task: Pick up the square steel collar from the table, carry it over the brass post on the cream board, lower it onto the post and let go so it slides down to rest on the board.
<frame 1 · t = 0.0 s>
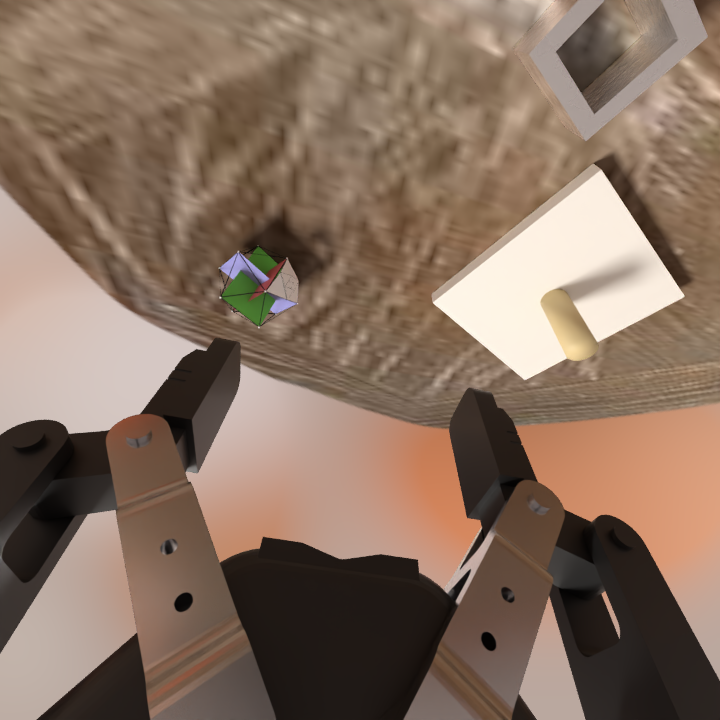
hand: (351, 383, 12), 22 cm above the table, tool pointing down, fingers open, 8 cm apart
post board: (549, 290, 34), on the table
steel collar: (587, 41, 22), on the table
geometric puzzle: (268, 267, 35), on the table
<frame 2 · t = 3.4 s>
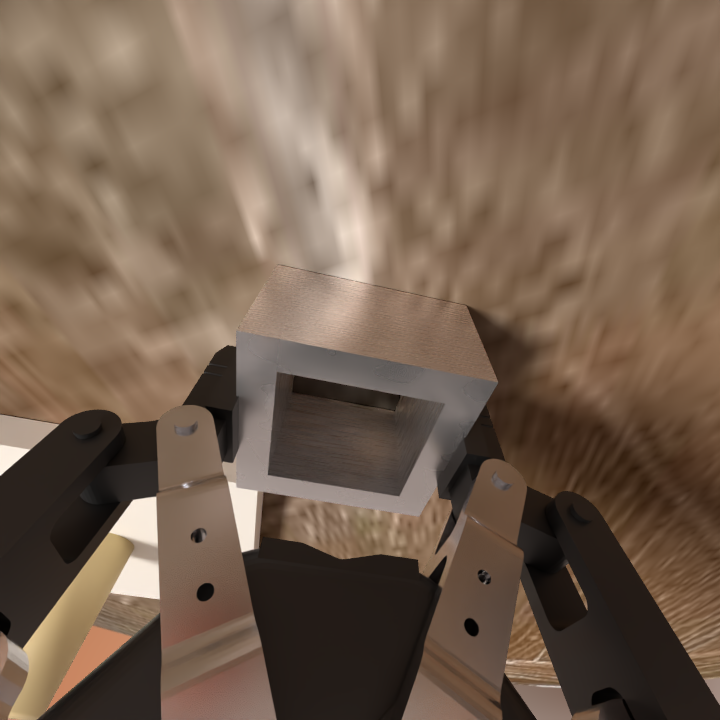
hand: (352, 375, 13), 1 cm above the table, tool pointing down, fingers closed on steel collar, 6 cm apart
post board: (127, 517, 21), on the table
steel collar: (354, 361, 13), on the table, touching gripper
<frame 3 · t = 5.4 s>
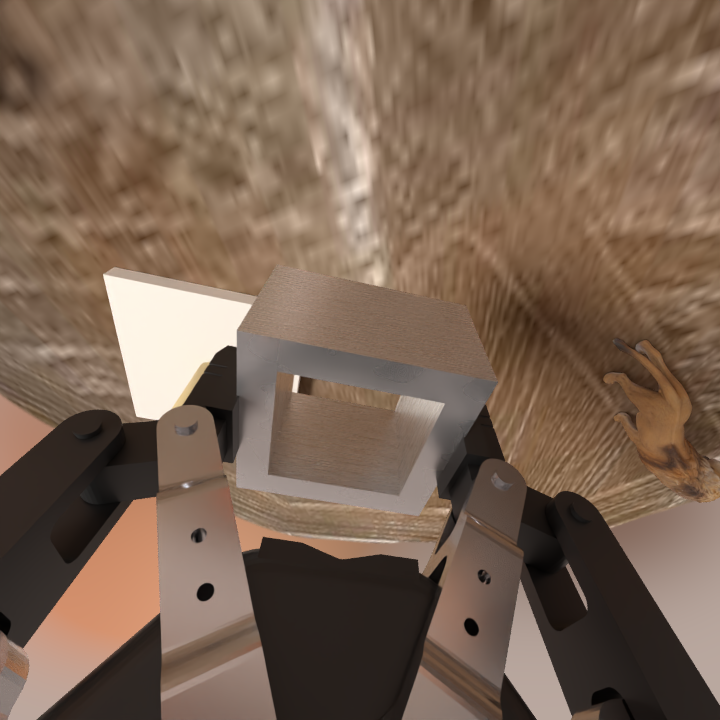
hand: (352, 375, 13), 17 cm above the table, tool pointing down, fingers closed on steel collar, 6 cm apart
lion figurine: (634, 388, 34), on the table
post board: (217, 362, 34), on the table
steel collar: (354, 360, 14), point 16 cm above the table, touching gripper
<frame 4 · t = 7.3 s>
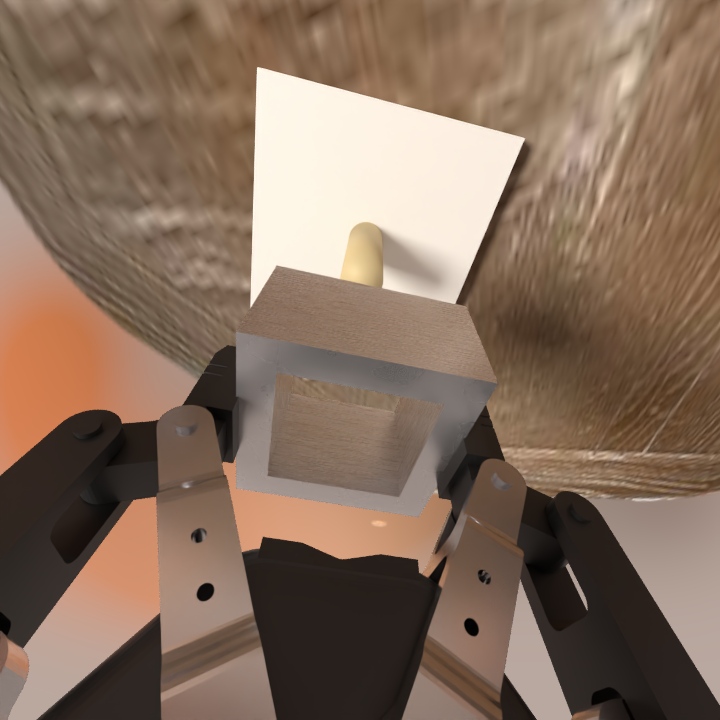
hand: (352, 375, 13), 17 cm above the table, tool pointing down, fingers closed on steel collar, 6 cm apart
post board: (366, 232, 26), on the table
steel collar: (354, 361, 13), point 16 cm above the table, touching gripper
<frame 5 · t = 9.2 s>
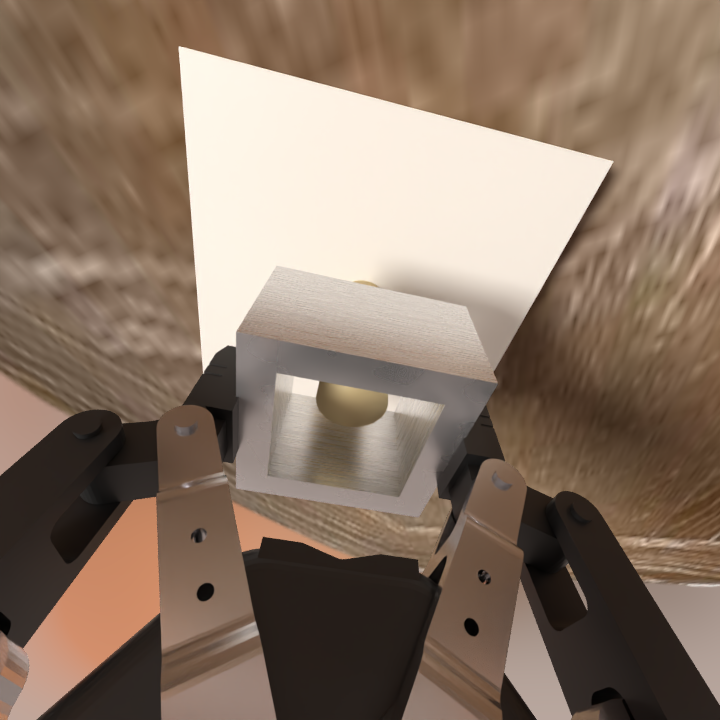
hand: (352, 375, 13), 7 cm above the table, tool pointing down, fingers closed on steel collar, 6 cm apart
post board: (362, 289, 18), on the table
steel collar: (354, 361, 13), point 6 cm above the table, touching gripper
when the fingers open (5 cm above the table, at t = 11.1 s): steel collar drops 3 cm, resting on post board.
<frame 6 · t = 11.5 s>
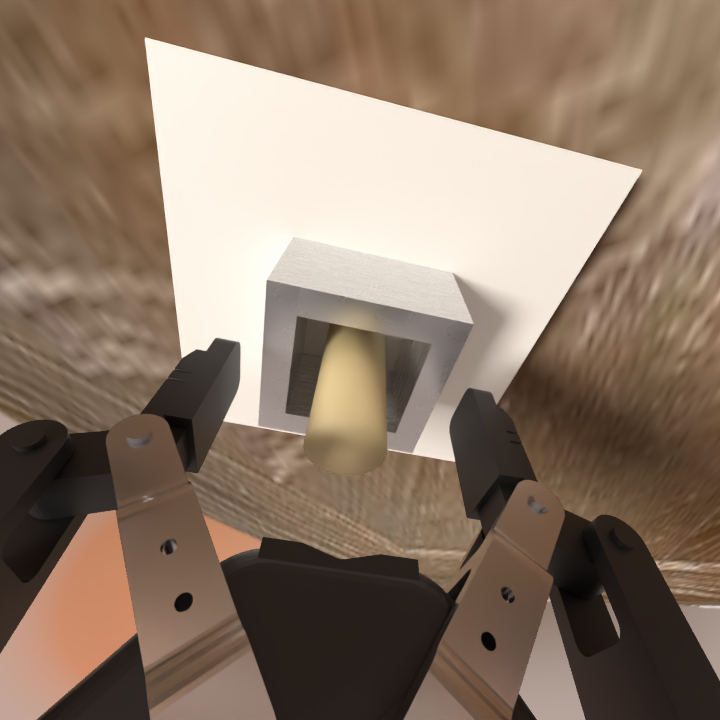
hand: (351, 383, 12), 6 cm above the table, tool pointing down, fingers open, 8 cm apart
post board: (359, 307, 17), on the table
steel collar: (357, 323, 16), point 1 cm above the table, touching post board
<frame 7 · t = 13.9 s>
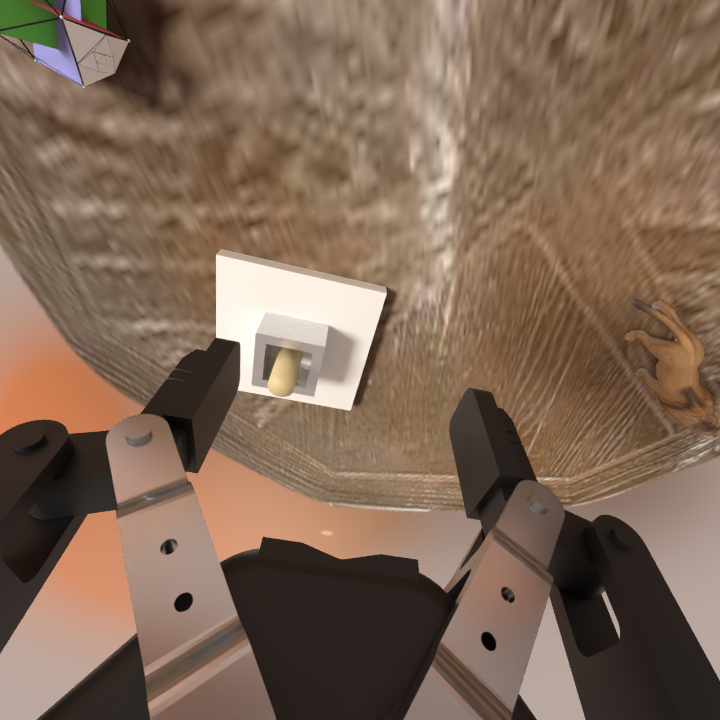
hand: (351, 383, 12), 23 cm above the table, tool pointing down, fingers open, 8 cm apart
lion figurine: (652, 345, 39), on the table
post board: (295, 336, 39), on the table
steel collar: (293, 344, 37), point 1 cm above the table, touching post board
geometric puzzle: (89, 18, 24), on the table
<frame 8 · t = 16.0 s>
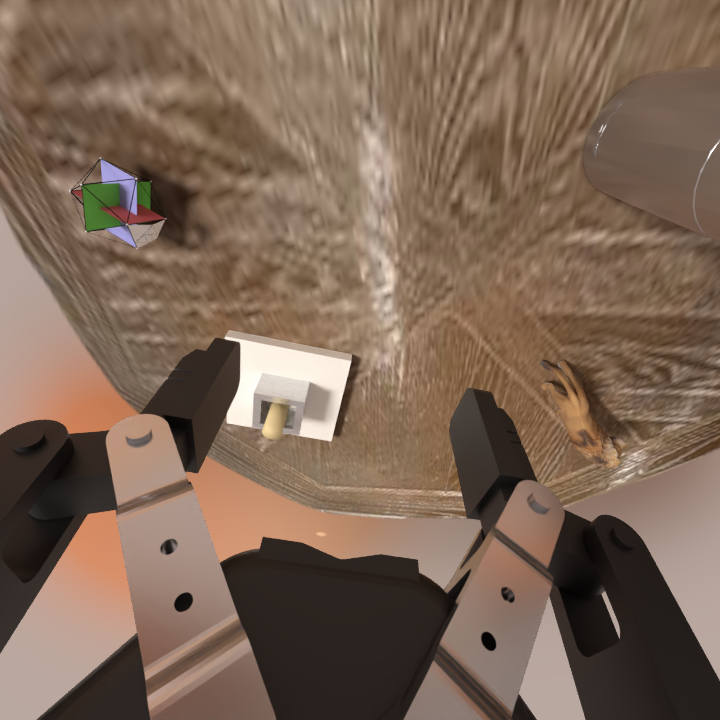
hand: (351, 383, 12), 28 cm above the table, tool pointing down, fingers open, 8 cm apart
lion figurine: (566, 391, 49), on the table
post board: (286, 387, 50), on the table
steel collar: (284, 394, 49), point 1 cm above the table, touching post board
geometric puzzle: (139, 197, 36), on the table
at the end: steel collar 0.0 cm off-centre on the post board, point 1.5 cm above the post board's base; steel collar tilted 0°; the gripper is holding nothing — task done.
